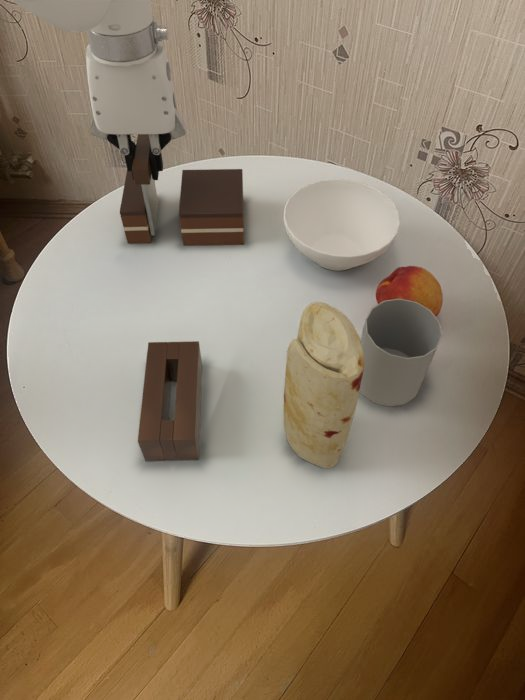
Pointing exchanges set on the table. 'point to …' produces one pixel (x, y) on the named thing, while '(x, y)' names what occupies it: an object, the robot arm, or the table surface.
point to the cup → (397, 350)
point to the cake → (212, 207)
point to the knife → (146, 179)
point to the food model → (322, 384)
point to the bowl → (341, 222)
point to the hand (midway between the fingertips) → (146, 173)
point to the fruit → (412, 288)
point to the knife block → (155, 427)
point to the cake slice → (134, 212)
